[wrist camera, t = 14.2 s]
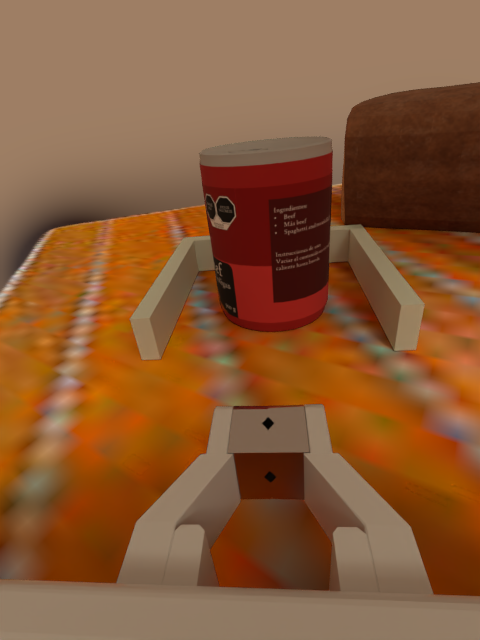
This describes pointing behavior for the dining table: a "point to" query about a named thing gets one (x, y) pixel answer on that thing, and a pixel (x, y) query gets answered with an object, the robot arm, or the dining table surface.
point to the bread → (414, 160)
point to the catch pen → (345, 245)
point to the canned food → (270, 229)
